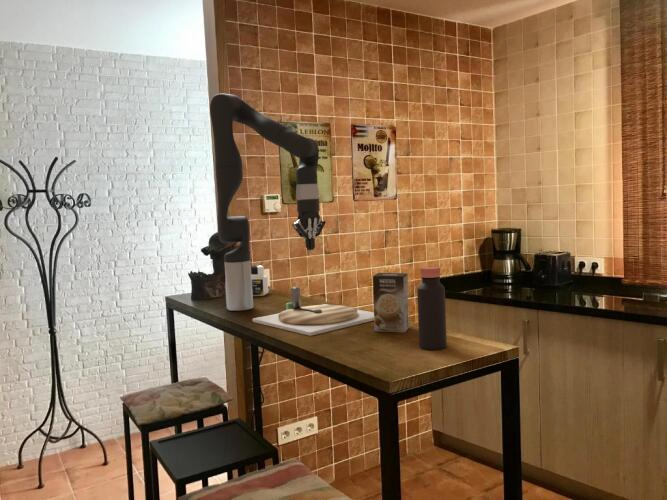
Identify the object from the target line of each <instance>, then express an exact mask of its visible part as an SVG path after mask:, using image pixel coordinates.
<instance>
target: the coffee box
mask: <svg viewBox="0 0 667 500" xmlns="http://www.w3.org/2000/svg"><path fill="white" fill-rule="evenodd" d="M408 276H409V275H408V273H407V272H377V273H375V274H374V275H373V276H372V287H373V288H372V290H373V293H372V294H373V295H372V296H373V312H374V320H373V321H374V323H373V324H374V325H373V326H374V327H373V328H374V329H373V330H374V332H382V333H384V332H385V333H406V332H407V330H409V328H410V322H409V321H410V320H409V319H410V318H409V285H408V280H409V277H408Z"/></svg>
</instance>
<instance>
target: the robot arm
mask: <svg viewBox="0 0 667 500" xmlns="http://www.w3.org/2000/svg"><path fill="white" fill-rule="evenodd" d="M209 113H210V114H209V115H210V119H211V120H210V121H211V127H212V132H213V143H214V146H213V147H214V157H215V158H214V161H215V163H214V164H215V168H214V169H215V180H216V191H217V192H216V193H217V194H216V195H217V234H218V239H219V241H220V243H223V244H227V243H228V244H230V243H239V245H238V246H237V247H236V248H234V249H233V250H231V251H228V252H226V253H225V254H224V256H223V260H224V262H223V263H224V273H225V282H224V287H225V302H226V303H225V304H226V309H227V310H228V311H235V312H238V311H246V310H251V309H253V308H254V298H253V297H254V296H253V293H252V278H251V266H252V265H251V251H250V248H251V247H250V246H251V245H250V222H249V219H248V217H247V216H245V215H236V216H234V215H233V216H228V212H229V208H230V206H231V205H230V204H231V202H232V201H233V198H234V196H235V195H236V193H237V192H238V190H239V188H240V187H241V185H242V182H243V178H244V177H243V174H244V173H243V172H244V171H243V161H242V160H243V159H242V155H241V154H240V151H239V149H238V146H237V143H236V141H235V138H234V137H235V136H234V132H233V131H234V130H233V129H234V128H233V127H234V126H233V124H234V123H233V122H235V123H238V124H242V125H245V126H247V127H249V128H251V129H252V130H253V131H255V133H257V134H258V135H260V136H261V138H264V140H267V142H270V143H272V144H274V145H275V146H278V147H280V148H282V149H283V150H284V151H286V152H287V153H289V154H291V155H293V156H294V157H296V158H298V159H299V162H298V165H299V166H298V167H297V168H296V170H295V171H296V172H295V176H296V178H295V182H296V192H295V194H296V197H295V198H296V212H297V213H298V214H297V215H298V216H297V220H296V221H295V222H293V223H291V226H292V227H293V229H294V230H295V232H296V233H297V234H298V235H299V237H300V238H303V239H305V248H306V250H307V251H314V250H315V248H316V242H315V241H316V240H315V239H316V237H319V236H320V235H321V233H322V231H323V228H324V227H325V225H326V224H327V223H326V220H323V219H321V215H320V209H321V208H320V191H319V185H318V184H319V183H318V165H319V156H320V154H319V153H320V152H319V149H320V148H319V146H318V143H317V141H316V140H315V139H313V138H310V137H307V136H304V135H301V134H300V133H297V132H296V131H294V130H292V129H291V128H290V127H289V126H287V125H285V124H282V123H280V122H278V120H275V119H272V118H271V117H269V116H267V115H265V114H263V113H262V112H260V111H258V110H256V109H255V108H253V106H251V105H250V104H248V103H247V102H246V101H244V100H243V99H242V98H241V97H239V96H237V95H235V94H232V93H217V94H215V95H213V97H212V98H211V100H210V104H209Z"/></svg>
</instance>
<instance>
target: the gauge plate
mask: <svg viewBox="0 0 667 500" xmlns="http://www.w3.org/2000/svg"><path fill="white" fill-rule="evenodd" d="M321 305H329V304H327V303H323V304H321ZM288 309H292V301H290V302H286V303H285V310H288ZM279 313H280V312H279ZM279 313H274V314H269V315H264V316H263V315H262V316H259V317H254V318H252V322H253V323H256V324H260V325H265V326H269V327H272V328H277V329H281V330H286V331H289V332H293V333H297V334H301V335H306V336H308V337H311V336H314V335H320V334H324V333H328V332H331V331H336V330H340V329H344V328H349V327H353V326H357V325H361V324H364V323H369V322H372V321H374V311H366V310H362V309H357V313H358V314H357V316H356V317H354V318H352V319H349V320H345V321H341V322H335V323H327V324H291V323H286V322H282V321H280V320H279V317H278V315H279Z"/></svg>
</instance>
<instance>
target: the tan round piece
mask: <svg viewBox="0 0 667 500" xmlns="http://www.w3.org/2000/svg"><path fill="white" fill-rule="evenodd" d="M290 297H291V302H292V309H288V310H286V309H284V310H283V311H280V312H279V315H278V317H279V320H280V321H282V322H286V323H291V324H327V323H335V322H341V321H345V320H349V319H352V318H354V317H356V316H357V314H358V313H357V310H358V309H357V308H355V307H353V306H348V305H338V304H328V305H322V304H316V305H314V304H313V305H306V306H304V305H303V306H302V302H301V301H302V300H301V298H302V297H301V287H299V286H294V287H290Z"/></svg>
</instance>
